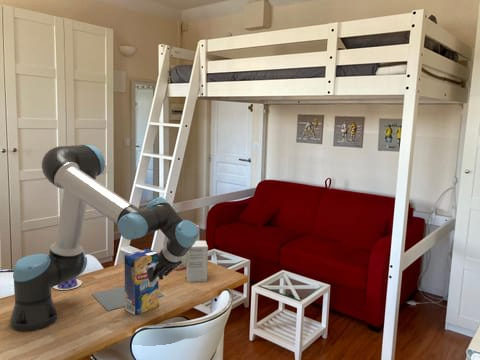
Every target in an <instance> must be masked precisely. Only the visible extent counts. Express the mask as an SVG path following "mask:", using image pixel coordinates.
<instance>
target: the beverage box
mask: <svg viewBox="0 0 480 360" xmlns="http://www.w3.org/2000/svg"><path fill="white" fill-rule="evenodd" d="M159 253H160V252H158V251H156V250H155V251H154V250H153V249H149V248H146V249H142V250H138V251H135V252H131V253H127V254H125V255H124V257H123V258H124V259H123V260H124V286H125V307H124V310H125V311H127V312H129V313H130V314H132V315H134V316H137V315H141V314H143V313H145V312H147V311H150V310H153V309H154V308H157V307H159V298H158V291H159V280H158V281H157V283H156V284H155V285H154V286H153V287H150V286H149V283H148V280H149V278H148V275H147V271H148V265H147V264H148V263H155V261H156V260H157V259H158V257H159Z"/></svg>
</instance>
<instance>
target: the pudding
mask: <svg viewBox="0 0 480 360" xmlns="http://www.w3.org/2000/svg"><path fill="white" fill-rule="evenodd" d="M82 284H83V281H82V280H80V279H77V277H75V278H74V279H71V280H68V281H66V282H63V283H61V284H58V285H56V286H54V287H52V288H53V289H55V290H61V291H67V290H73V289H76V288H78V287H80V286H82ZM59 288H60V289H59ZM67 288H68V289H67Z"/></svg>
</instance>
